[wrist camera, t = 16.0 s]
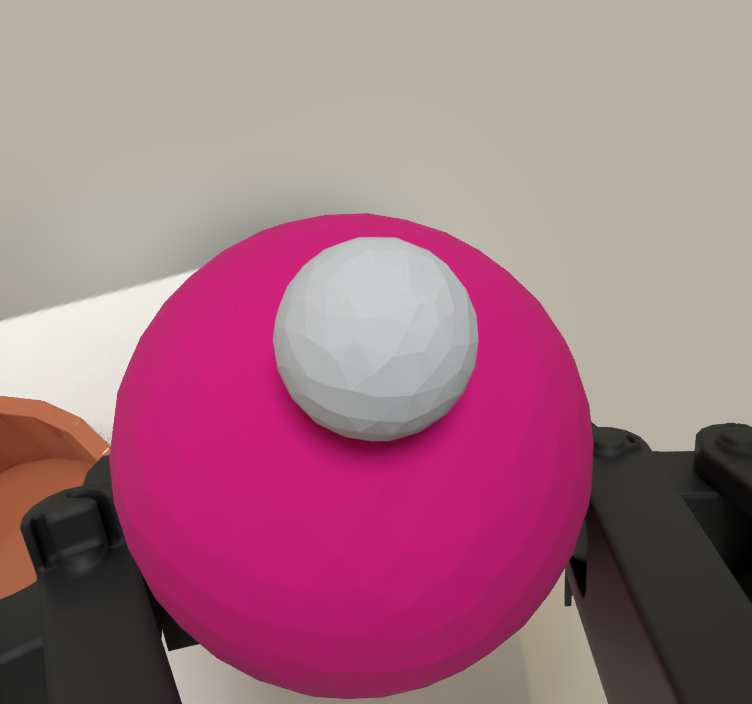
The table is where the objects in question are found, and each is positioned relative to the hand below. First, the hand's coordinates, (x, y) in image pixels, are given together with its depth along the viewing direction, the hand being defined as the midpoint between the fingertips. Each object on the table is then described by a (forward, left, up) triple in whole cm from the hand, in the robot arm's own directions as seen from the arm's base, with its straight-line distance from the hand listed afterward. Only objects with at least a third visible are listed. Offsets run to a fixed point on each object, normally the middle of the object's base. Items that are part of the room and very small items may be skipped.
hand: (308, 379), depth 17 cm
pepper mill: (-4, +1, -9) cm, 10 cm away
